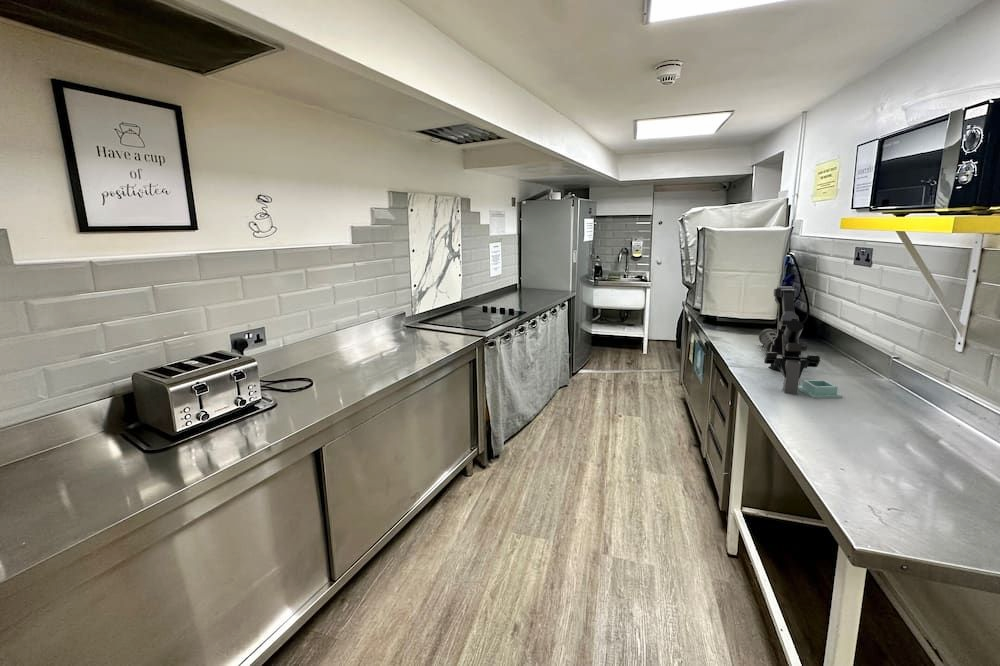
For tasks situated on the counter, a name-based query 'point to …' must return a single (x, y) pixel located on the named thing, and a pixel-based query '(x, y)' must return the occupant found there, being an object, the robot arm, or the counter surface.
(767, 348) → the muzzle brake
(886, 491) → the counter surface
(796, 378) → the plug
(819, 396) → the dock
